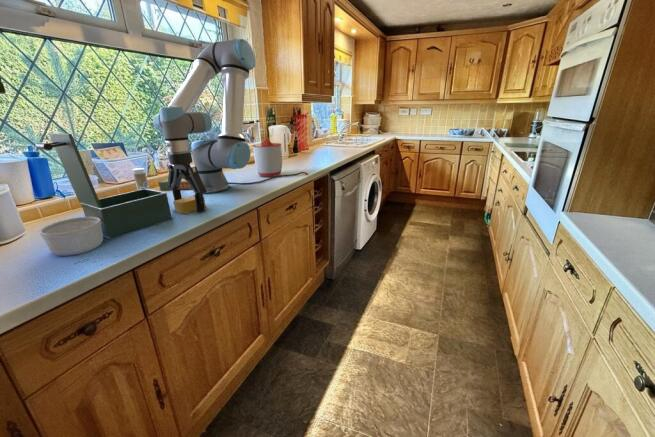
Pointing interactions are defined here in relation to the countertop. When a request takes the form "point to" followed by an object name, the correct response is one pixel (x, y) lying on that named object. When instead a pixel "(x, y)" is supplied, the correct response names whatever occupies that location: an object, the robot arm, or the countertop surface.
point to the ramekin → (73, 235)
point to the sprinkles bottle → (140, 178)
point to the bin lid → (73, 167)
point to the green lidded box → (130, 211)
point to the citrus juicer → (268, 158)
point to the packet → (186, 204)
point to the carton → (164, 184)
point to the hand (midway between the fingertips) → (190, 208)
